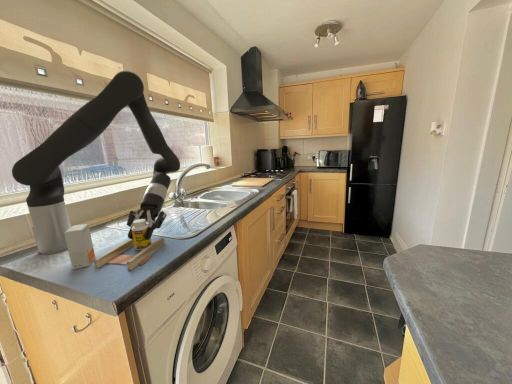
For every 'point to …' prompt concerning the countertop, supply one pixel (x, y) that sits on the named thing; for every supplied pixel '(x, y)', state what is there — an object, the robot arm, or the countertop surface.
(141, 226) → the supplement bottle
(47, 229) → the robot arm
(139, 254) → the guide channel
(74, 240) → the skincare box
